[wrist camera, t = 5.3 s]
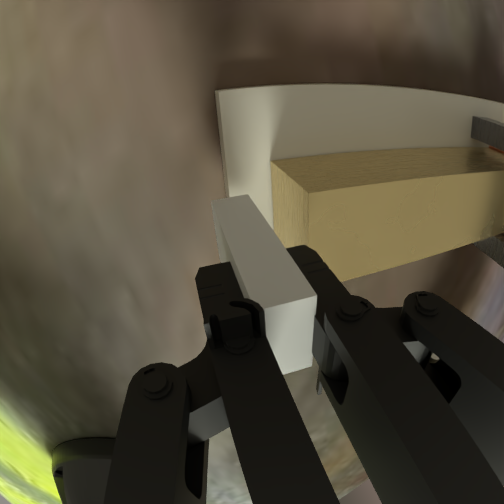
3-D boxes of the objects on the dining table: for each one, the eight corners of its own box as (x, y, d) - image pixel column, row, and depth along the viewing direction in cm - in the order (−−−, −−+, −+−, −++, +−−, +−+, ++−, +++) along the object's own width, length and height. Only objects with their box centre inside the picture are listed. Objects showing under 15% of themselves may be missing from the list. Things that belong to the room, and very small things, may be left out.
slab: (237, 289, 19) (241, 299, 18) (214, 90, 13) (218, 91, 12) (537, 211, 25) (543, 215, 24) (554, 117, 19) (561, 120, 18)
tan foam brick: (274, 243, 17) (309, 298, 13) (270, 157, 14) (312, 192, 10) (502, 198, 20) (541, 223, 16) (511, 146, 18) (555, 167, 14)
